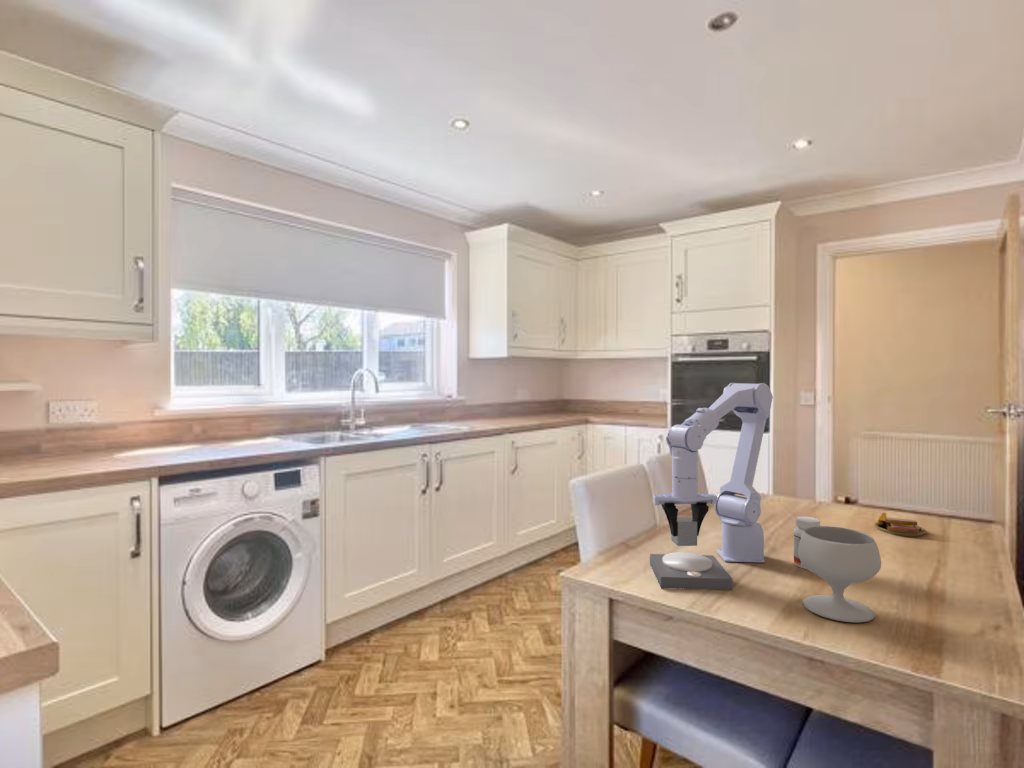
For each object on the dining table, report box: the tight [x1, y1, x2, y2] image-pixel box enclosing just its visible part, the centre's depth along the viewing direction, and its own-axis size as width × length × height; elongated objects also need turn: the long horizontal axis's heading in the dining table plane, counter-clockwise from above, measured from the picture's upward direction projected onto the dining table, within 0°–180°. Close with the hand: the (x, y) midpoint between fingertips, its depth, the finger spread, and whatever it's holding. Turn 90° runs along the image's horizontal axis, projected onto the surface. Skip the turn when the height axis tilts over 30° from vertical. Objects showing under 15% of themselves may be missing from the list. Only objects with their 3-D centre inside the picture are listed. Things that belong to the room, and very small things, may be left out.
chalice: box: [798, 525, 882, 624], centre depth 108 cm, size 14×14×15 cm
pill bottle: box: [793, 516, 821, 571], centre depth 132 cm, size 6×6×11 cm
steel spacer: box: [670, 516, 698, 547], centre depth 129 cm, size 4×4×6 cm
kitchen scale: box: [649, 551, 733, 591], centre depth 126 cm, size 15×15×3 cm
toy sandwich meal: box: [873, 512, 927, 537], centre depth 161 cm, size 12×14×5 cm
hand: (684, 534), depth 128 cm, fingers closed on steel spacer, 4 cm apart
